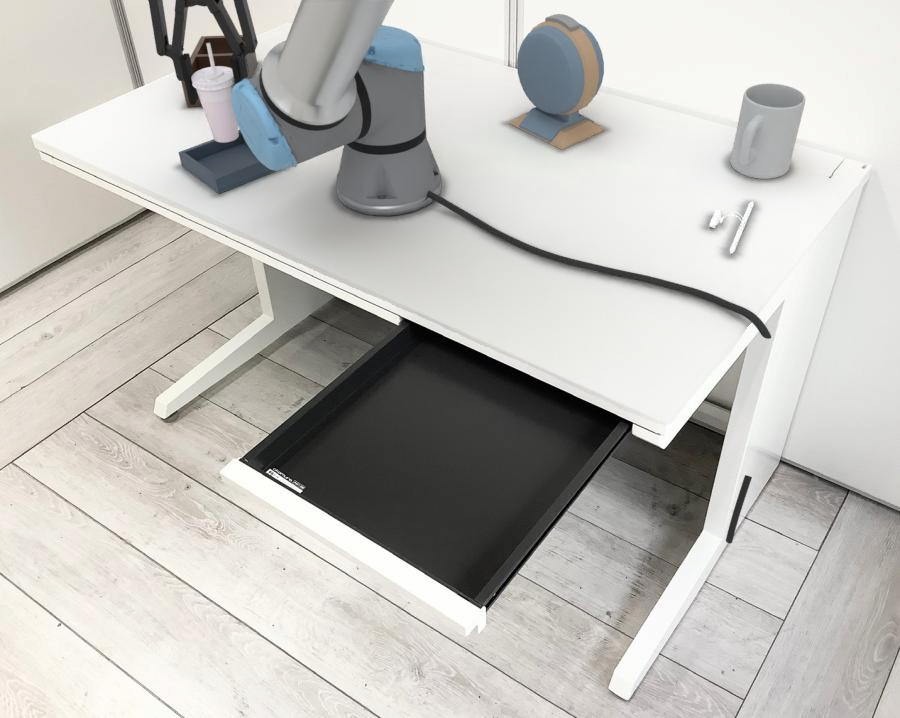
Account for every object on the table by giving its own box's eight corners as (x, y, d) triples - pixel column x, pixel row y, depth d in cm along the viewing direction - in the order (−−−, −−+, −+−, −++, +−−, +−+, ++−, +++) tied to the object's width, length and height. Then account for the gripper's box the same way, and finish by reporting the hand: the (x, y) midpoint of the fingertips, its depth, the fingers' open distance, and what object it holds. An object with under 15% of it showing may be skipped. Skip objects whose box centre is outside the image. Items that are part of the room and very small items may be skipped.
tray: (284, 167, 136) (281, 153, 135) (218, 194, 131) (215, 179, 129) (245, 142, 143) (242, 128, 141) (181, 166, 138) (178, 152, 136)
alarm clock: (609, 132, 142) (620, 21, 131) (566, 152, 138) (573, 38, 126) (547, 103, 151) (552, -3, 139) (504, 121, 146) (506, 12, 135)
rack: (241, 105, 153) (236, 74, 150) (187, 107, 154) (179, 76, 150) (257, 63, 167) (252, 34, 163) (207, 65, 167) (200, 36, 164)
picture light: (733, 256, 115) (736, 242, 114) (699, 249, 117) (702, 235, 115) (754, 204, 125) (757, 191, 123) (723, 198, 126) (726, 185, 125)
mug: (745, 146, 138) (759, 77, 130) (798, 162, 133) (816, 92, 126) (709, 177, 131) (722, 107, 123) (764, 195, 126) (780, 123, 119)
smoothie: (252, 127, 136) (235, 36, 127) (241, 147, 131) (222, 54, 122) (212, 126, 136) (192, 36, 127) (199, 146, 132) (177, 53, 122)
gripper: (262, -80, 117) (287, 87, 133) (116, -75, 118) (158, 91, 133) (253, -63, 112) (281, 109, 127) (100, -58, 112) (146, 113, 127)
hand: (218, 99), depth 130 cm, fingers closed on smoothie, 6 cm apart
